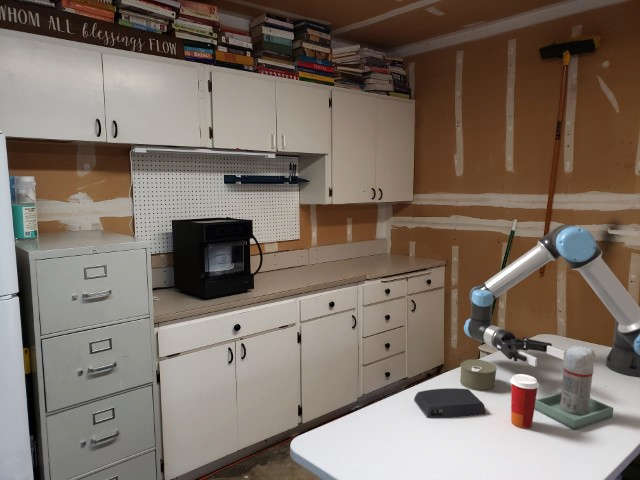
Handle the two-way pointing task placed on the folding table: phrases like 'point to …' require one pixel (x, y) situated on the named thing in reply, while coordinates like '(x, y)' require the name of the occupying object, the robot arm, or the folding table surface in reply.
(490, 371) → the can
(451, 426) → the folding table surface
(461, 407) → the external hard drive
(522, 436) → the folding table surface
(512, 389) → the paper cup
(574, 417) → the tray
